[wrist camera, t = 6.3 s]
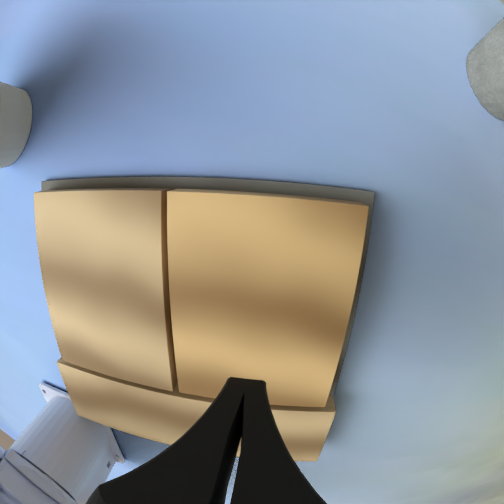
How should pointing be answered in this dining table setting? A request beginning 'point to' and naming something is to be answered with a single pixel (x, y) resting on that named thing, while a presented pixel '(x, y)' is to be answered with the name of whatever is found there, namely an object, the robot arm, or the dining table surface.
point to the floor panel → (144, 304)
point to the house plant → (489, 71)
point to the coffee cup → (13, 123)
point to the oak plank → (261, 289)
